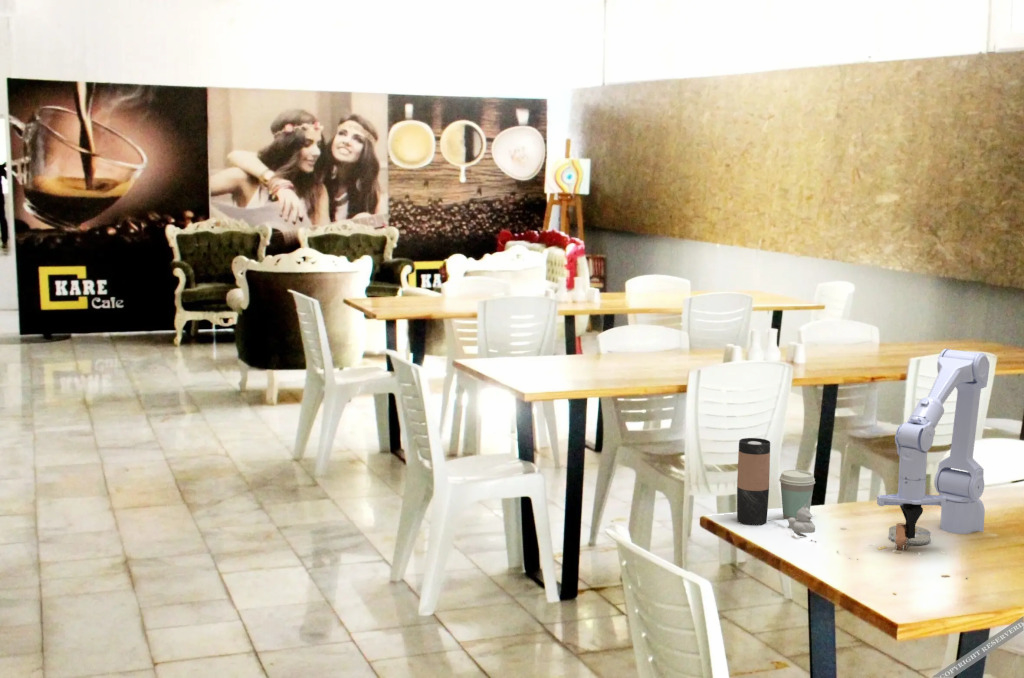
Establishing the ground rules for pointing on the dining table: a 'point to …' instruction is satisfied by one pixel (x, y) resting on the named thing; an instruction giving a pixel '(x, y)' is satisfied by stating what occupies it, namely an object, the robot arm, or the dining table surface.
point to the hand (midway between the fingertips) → (909, 536)
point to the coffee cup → (796, 491)
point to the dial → (900, 536)
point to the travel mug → (753, 481)
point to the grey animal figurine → (802, 522)
